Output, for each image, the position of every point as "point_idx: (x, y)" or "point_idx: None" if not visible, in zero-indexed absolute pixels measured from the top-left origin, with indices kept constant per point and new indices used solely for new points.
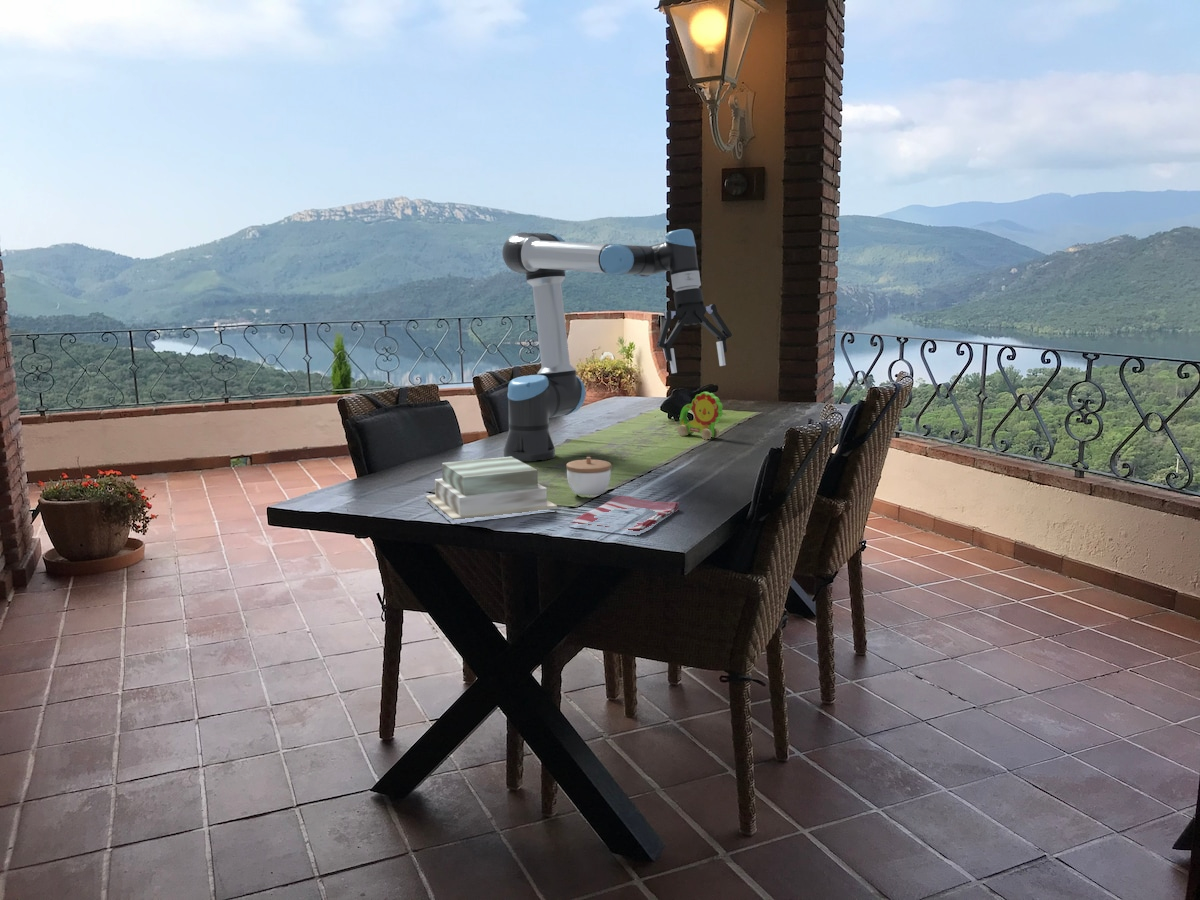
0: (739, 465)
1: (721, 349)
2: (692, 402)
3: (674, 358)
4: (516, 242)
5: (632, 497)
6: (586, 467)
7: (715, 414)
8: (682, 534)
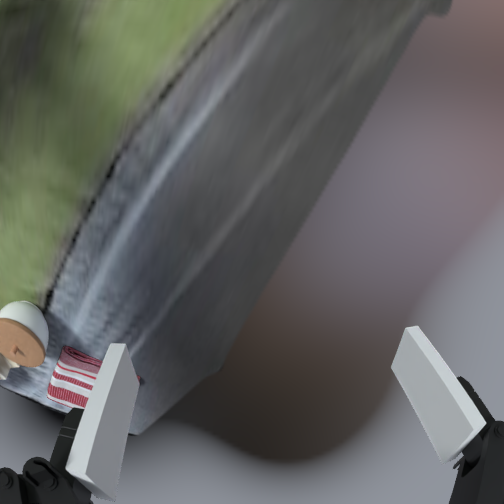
0: (324, 142)
1: (427, 426)
2: None
3: (121, 447)
4: None
5: (85, 364)
6: (21, 363)
7: None
8: (139, 417)
